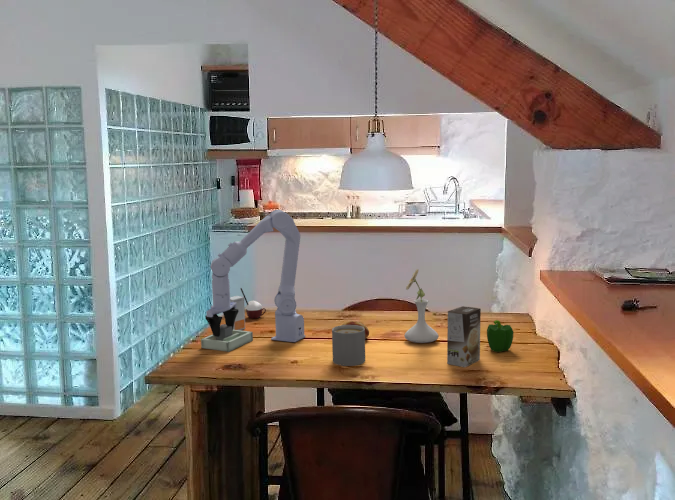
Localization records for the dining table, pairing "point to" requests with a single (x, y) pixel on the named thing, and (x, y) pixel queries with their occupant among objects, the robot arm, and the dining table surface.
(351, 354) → the coffee mug
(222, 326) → the grey block with knob
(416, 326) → the flower in vase
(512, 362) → the dining table surface
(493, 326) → the bell pepper
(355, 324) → the croissant
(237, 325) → the skincare box
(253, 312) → the cocoa
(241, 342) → the grey-green rectangular frame
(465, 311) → the coffee box
